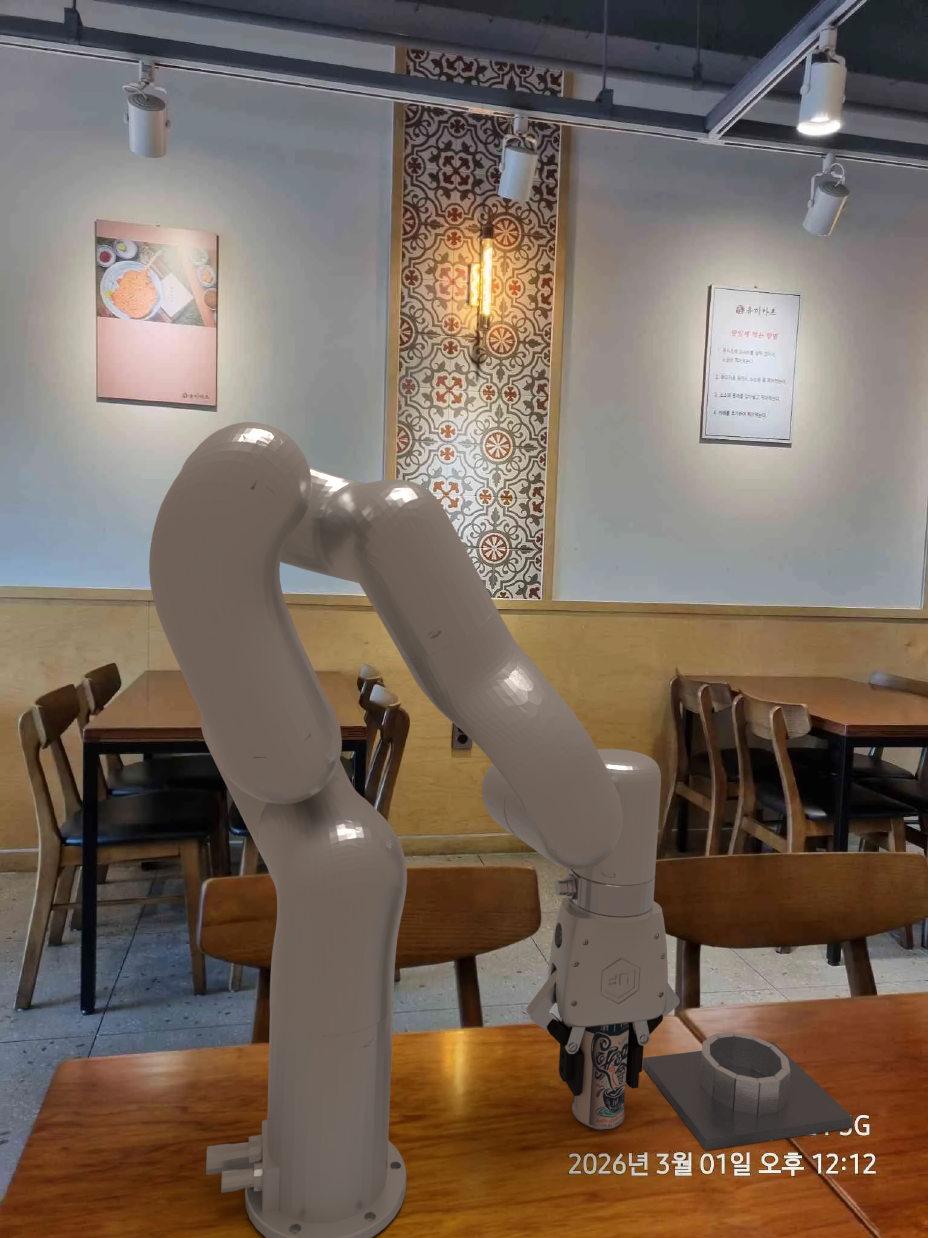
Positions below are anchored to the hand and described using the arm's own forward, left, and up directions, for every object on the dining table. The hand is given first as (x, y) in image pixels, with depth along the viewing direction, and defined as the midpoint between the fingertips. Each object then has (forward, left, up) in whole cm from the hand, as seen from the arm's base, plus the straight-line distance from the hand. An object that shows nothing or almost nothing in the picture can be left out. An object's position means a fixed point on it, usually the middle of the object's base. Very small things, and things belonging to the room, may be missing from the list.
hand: (599, 1081), depth 76 cm
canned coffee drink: (0, 0, -4) cm, 4 cm away
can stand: (+15, 0, -3) cm, 15 cm away
